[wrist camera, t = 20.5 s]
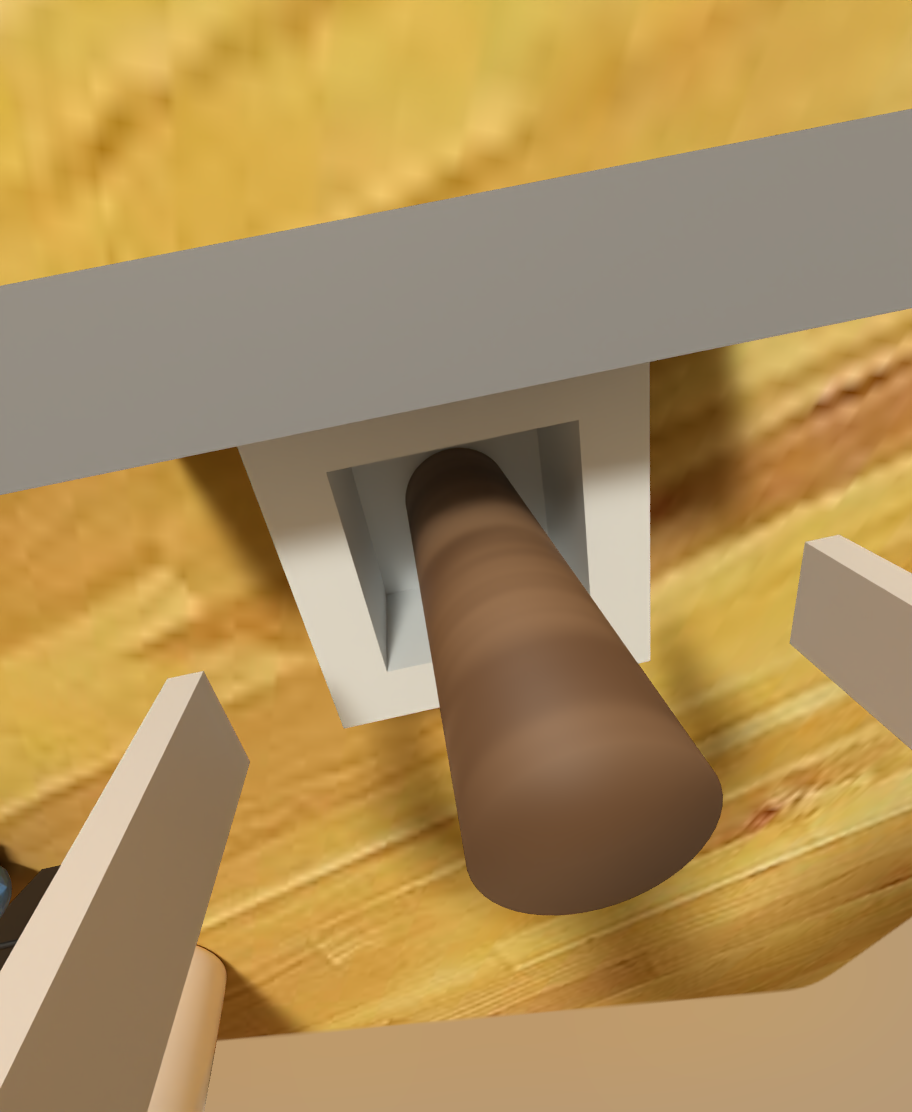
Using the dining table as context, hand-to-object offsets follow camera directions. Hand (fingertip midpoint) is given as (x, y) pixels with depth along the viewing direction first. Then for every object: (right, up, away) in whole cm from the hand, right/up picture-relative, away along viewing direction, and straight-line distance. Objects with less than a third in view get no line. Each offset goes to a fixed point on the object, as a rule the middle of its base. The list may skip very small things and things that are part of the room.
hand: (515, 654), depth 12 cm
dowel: (-1, +4, +9) cm, 10 cm away
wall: (-3, +11, +6) cm, 13 cm away
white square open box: (-2, +5, +10) cm, 11 cm away
